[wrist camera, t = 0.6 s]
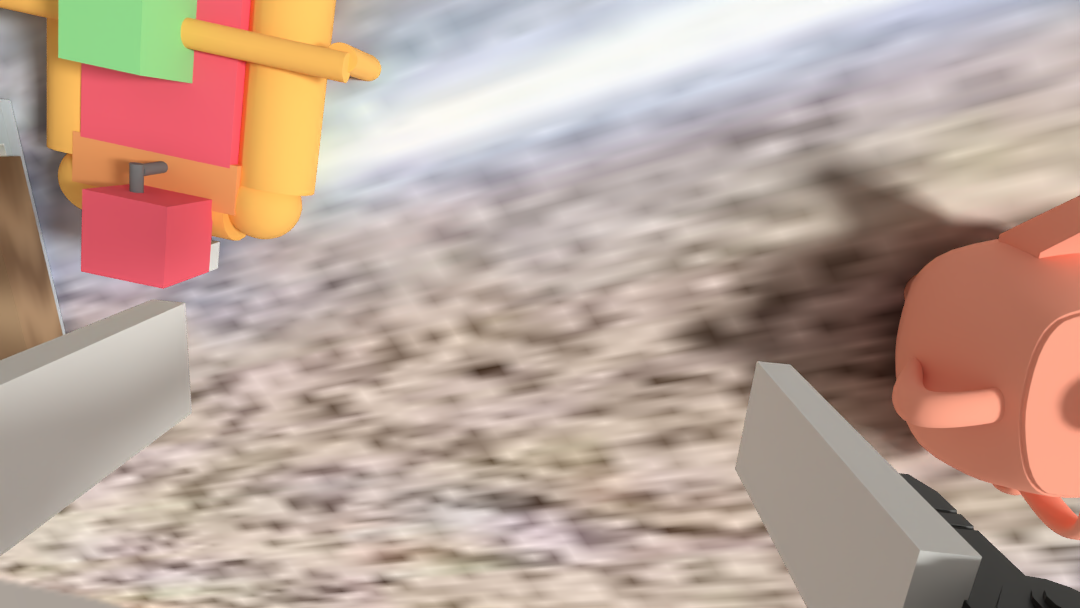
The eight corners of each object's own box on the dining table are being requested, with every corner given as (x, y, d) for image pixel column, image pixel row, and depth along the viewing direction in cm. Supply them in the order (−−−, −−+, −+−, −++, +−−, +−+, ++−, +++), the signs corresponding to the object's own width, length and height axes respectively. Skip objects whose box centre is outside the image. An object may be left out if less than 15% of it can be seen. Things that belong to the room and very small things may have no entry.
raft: (421, -215, 35) (374, -334, 26) (353, 291, 42) (299, 330, 34) (18, -307, 34) (-167, -459, 26) (23, 221, 42) (-118, 243, 33)
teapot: (976, 158, 38) (1189, 168, 25) (1166, 308, 41) (1453, 388, 28) (804, 357, 42) (913, 455, 29) (986, 485, 44) (1164, 630, 31)
